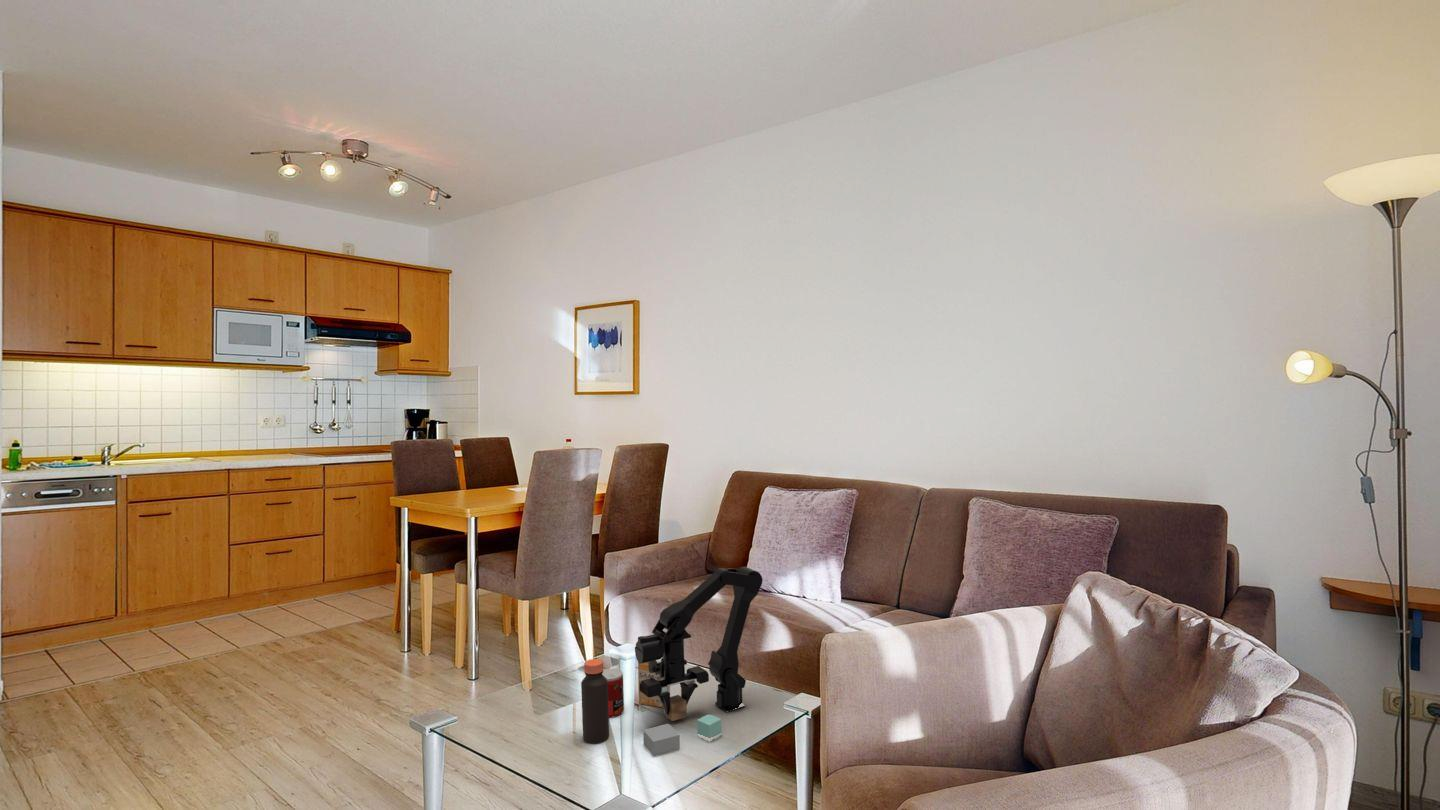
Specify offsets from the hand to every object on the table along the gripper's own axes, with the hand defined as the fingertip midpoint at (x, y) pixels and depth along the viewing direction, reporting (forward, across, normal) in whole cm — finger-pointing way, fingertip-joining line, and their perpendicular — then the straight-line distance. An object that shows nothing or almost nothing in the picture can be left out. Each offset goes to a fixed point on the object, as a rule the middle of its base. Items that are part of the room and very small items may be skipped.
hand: (675, 712), depth 203 cm
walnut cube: (+1, 0, 0) cm, 1 cm away
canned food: (+2, +13, -15) cm, 20 cm away
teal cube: (+2, -3, +13) cm, 14 cm away
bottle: (+2, +22, -3) cm, 22 cm away
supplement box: (+2, 0, -13) cm, 13 cm away
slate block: (+2, +10, +11) cm, 15 cm away
